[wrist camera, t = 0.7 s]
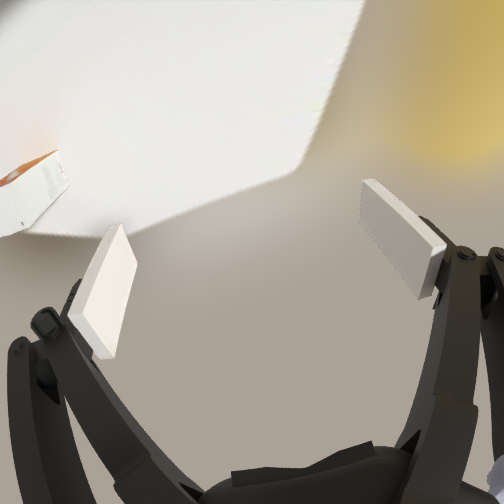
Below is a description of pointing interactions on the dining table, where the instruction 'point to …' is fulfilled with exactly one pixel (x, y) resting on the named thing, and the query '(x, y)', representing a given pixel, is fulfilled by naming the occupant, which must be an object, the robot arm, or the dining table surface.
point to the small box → (30, 192)
